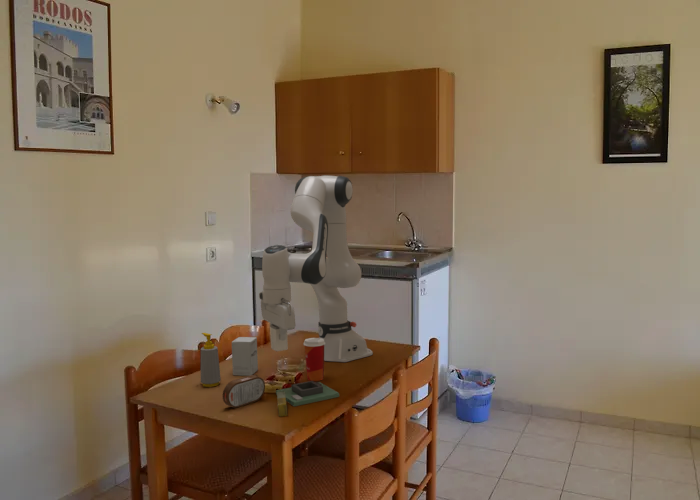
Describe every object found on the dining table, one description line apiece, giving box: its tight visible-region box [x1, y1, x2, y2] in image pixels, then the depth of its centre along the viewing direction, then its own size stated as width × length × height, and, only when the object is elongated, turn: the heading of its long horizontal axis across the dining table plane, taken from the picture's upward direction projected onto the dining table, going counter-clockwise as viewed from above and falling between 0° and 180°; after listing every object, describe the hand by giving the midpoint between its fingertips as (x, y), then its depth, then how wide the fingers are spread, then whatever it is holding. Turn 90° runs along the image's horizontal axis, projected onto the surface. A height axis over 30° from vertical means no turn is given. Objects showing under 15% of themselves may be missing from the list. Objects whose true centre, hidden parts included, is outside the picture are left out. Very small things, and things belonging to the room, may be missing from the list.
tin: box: [222, 374, 266, 408], centre depth 202 cm, size 15×3×8 cm, turn 136°
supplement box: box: [231, 336, 259, 377], centre depth 234 cm, size 7×7×13 cm
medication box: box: [276, 391, 288, 417], centre depth 196 cm, size 12×3×4 cm, turn 8°
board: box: [275, 380, 340, 407], centre depth 208 cm, size 16×14×3 cm
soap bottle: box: [200, 332, 222, 388], centre depth 221 cm, size 7×7×18 cm
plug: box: [269, 324, 289, 352], centre depth 208 cm, size 4×4×8 cm
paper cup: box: [303, 337, 325, 382], centre depth 225 cm, size 8×8×14 cm
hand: (279, 338), depth 208 cm, fingers closed on plug, 4 cm apart
